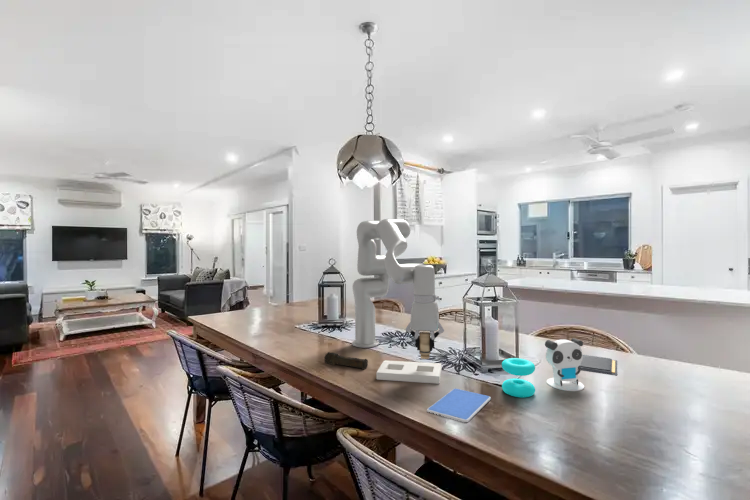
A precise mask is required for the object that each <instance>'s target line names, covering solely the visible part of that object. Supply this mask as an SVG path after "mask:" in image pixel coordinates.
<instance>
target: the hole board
mask: <svg viewBox="0 0 750 500" xmlns="http://www.w3.org/2000/svg"><path fill="white" fill-rule="evenodd" d="M441 377H442V363H441V362H440V363H439V362H438V363H437V362H436V363H435V362H419V361H418V362H417V361H402V360H383V361H382V363H381V364H380V366H379V367H378V369H377V371H376V380H380V381H381V380H382V381H392V382H393V381H394V382H395V381H396V382H410V383H423V384H424V383H425V384H437V385H438V384H440V382H441Z"/></svg>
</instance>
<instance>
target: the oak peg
mask: <svg viewBox="0 0 750 500" xmlns="http://www.w3.org/2000/svg"><path fill="white" fill-rule="evenodd" d="M430 338H431V334H430V331H419V350H418V352H419V353H418V354H419V355H420V359H421V360H429V359H430V355H431V352H432V351H430Z"/></svg>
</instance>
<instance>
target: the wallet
mask: <svg viewBox="0 0 750 500" xmlns="http://www.w3.org/2000/svg"><path fill="white" fill-rule="evenodd" d="M578 367H580V369H581V371H582V372H589V373H597V374H602V375H603V374H604V375H609V376H615V377H616V376H618V360H616V359H612V358H611V357H610V358H609V357H602V356H596V355H587V354H583V358H582V362H581V364H580V365H579V366H578Z"/></svg>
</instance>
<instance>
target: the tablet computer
mask: <svg viewBox="0 0 750 500" xmlns="http://www.w3.org/2000/svg"><path fill="white" fill-rule="evenodd" d="M491 400H492V398H491V396H489V395H485V394H481V393H477V392H472V391H468V390H464V389H460V388H452V389H451V390H450V391H449V392H447V393H446V394H445V395H444V396H442V397H440V399H439V400H436V401H435V403H433V404H432V405H430V406H429V407H427V409H426V412H427V413H429V412H430V413H429V414H433V413H434V414H433V415H436V414H437V415H436V416H439V415H441V416H440V417H443V416H444V417H443V418H446V417H447V418H446V419H450V418H451V419H450V420H453V419H454V420H453V421H457V420H458V421H457V422H460V421H462V422H461V423H464V422H468V423H469V422H470V421H471V420H472V419H473V418H474V416H476V414H478V412H480V411H481V409H483V408H484V407H485V405H486V404H488V403H489V401H491Z"/></svg>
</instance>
